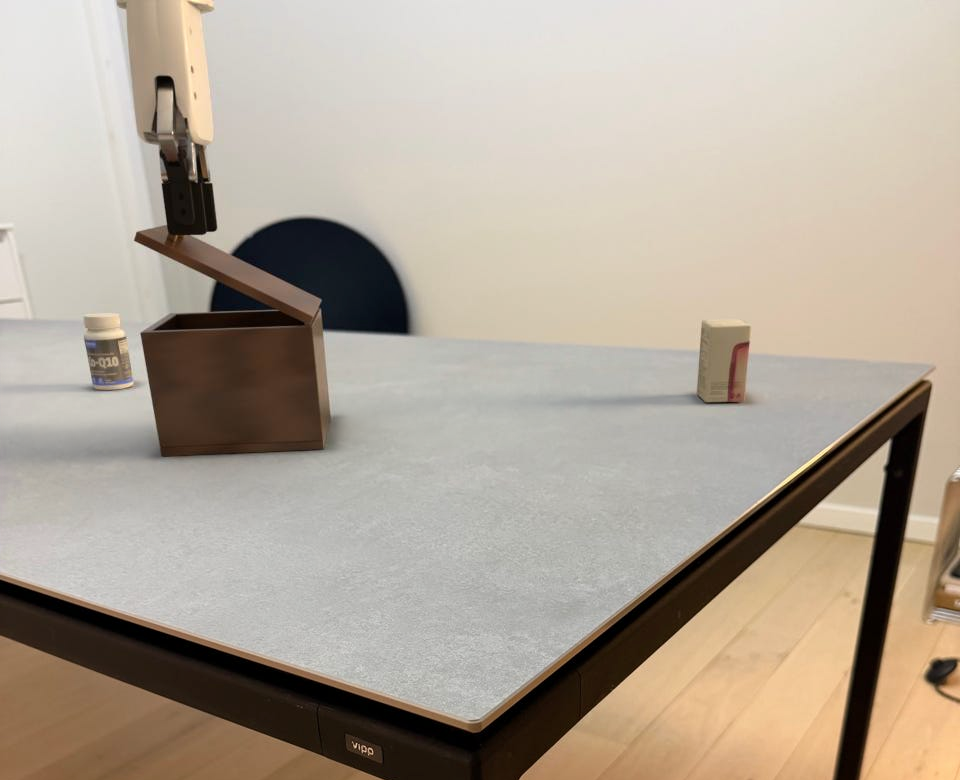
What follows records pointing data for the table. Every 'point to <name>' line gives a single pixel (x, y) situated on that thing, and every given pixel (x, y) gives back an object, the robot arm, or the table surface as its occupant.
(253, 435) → the chest
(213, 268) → the lid
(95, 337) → the pill bottle
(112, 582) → the table surface
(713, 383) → the small box
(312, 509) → the table surface
